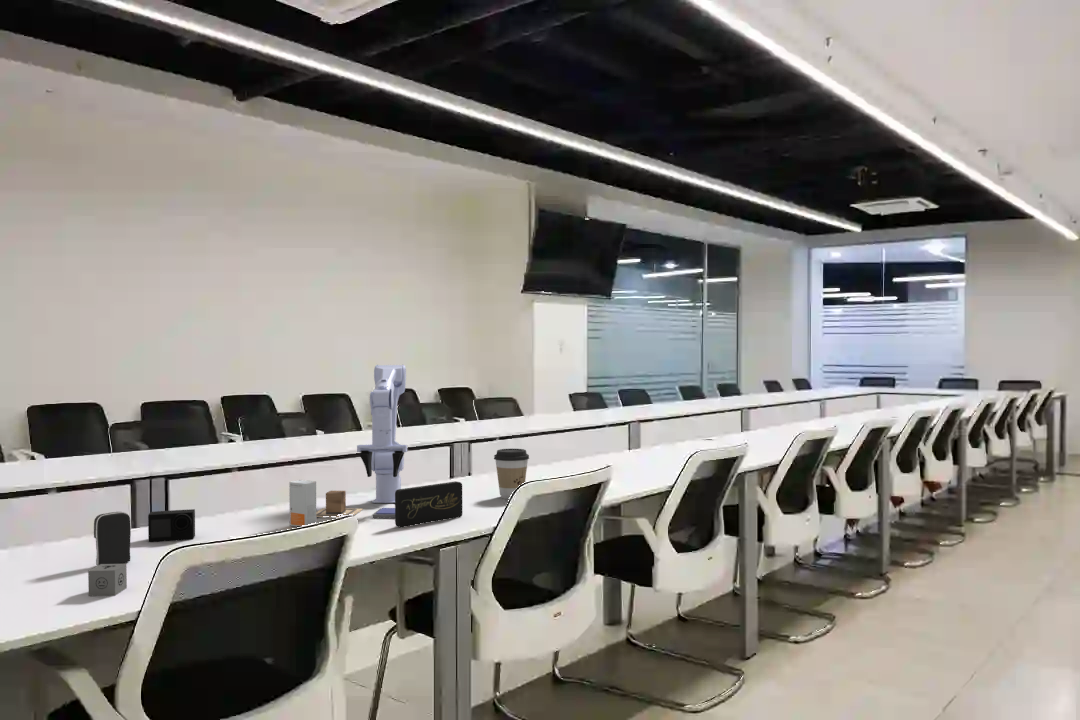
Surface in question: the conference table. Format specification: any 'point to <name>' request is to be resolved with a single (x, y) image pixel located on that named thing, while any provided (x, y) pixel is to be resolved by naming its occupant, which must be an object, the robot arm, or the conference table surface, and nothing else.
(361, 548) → the conference table surface
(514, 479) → the coffee cup
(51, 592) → the conference table surface
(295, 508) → the skincare box
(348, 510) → the print card
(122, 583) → the dice cube
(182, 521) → the digital camera
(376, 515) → the ink pad
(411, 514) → the nameplate
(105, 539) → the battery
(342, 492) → the block
